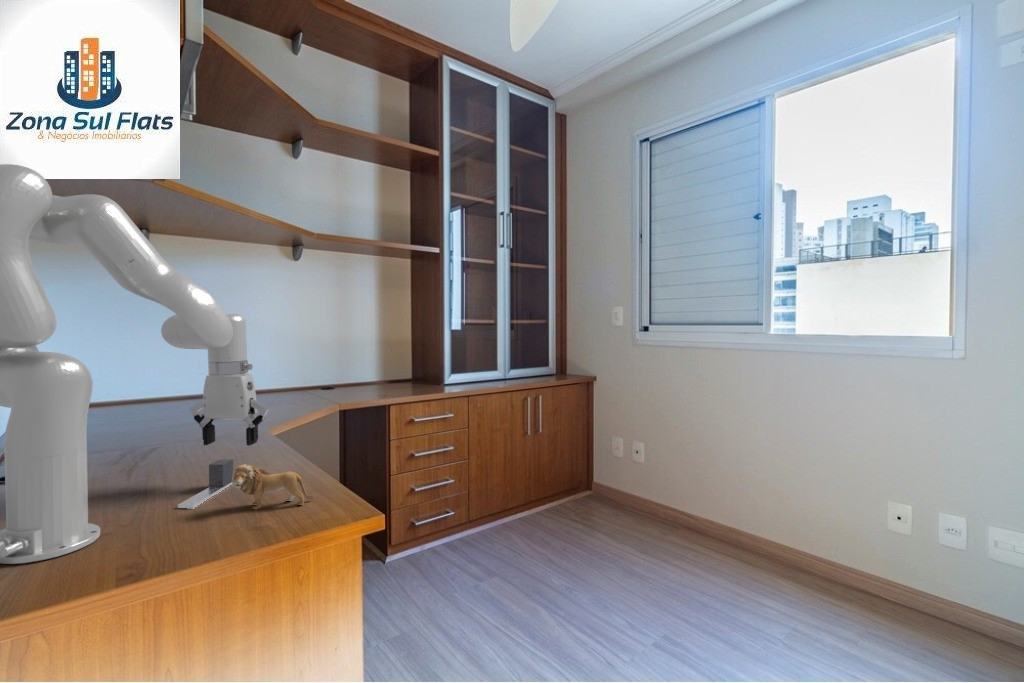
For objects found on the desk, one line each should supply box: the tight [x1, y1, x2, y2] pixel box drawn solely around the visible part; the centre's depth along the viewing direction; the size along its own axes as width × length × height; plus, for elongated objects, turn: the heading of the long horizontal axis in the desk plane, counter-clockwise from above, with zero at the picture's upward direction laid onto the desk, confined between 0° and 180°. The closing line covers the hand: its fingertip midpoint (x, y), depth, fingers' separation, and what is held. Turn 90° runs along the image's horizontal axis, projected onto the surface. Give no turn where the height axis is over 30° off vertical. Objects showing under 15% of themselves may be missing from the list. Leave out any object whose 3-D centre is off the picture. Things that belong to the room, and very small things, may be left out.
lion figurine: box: [232, 463, 314, 510], centre depth 96 cm, size 15×5×9 cm, turn 115°
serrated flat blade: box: [177, 459, 234, 510], centre depth 100 cm, size 14×3×6 cm, turn 1°
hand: (230, 443), depth 108 cm, fingers open, 9 cm apart
